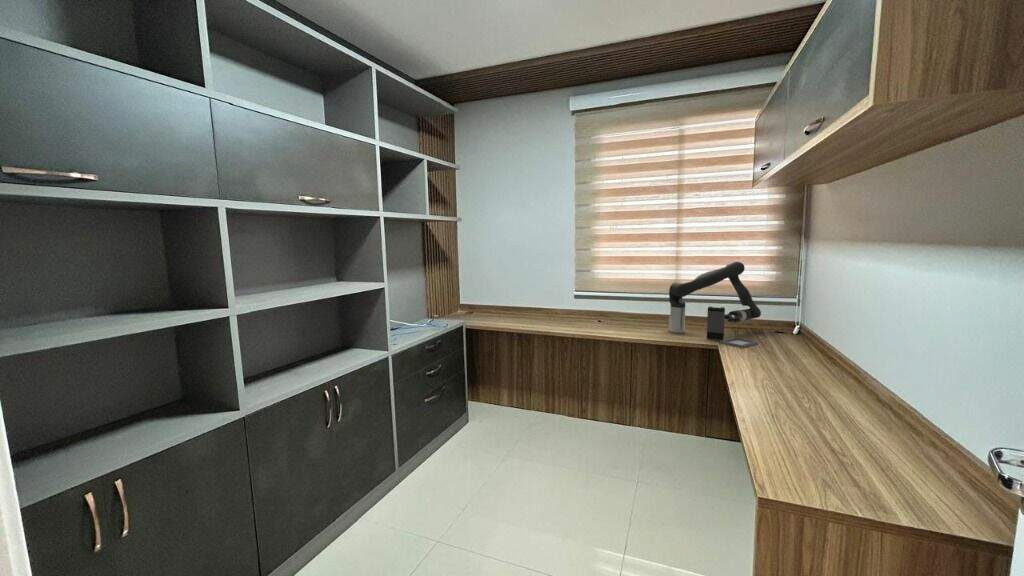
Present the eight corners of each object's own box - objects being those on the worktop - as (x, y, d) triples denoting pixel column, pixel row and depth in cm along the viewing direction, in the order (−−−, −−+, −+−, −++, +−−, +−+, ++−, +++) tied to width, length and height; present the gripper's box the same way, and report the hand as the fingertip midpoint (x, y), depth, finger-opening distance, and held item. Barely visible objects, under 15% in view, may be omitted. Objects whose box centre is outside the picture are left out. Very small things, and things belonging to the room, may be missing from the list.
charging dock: (720, 343, 236) (720, 340, 235) (735, 339, 243) (736, 337, 243) (741, 348, 224) (741, 345, 224) (757, 343, 232) (757, 341, 232)
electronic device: (723, 338, 245) (725, 307, 243) (723, 341, 240) (724, 308, 238) (707, 337, 250) (708, 306, 248) (706, 339, 245) (707, 307, 243)
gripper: (726, 308, 261) (711, 311, 253) (748, 312, 248) (733, 314, 240) (726, 320, 262) (711, 322, 254) (747, 323, 249) (732, 326, 241)
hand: (722, 319), depth 247 cm, fingers open, 8 cm apart
